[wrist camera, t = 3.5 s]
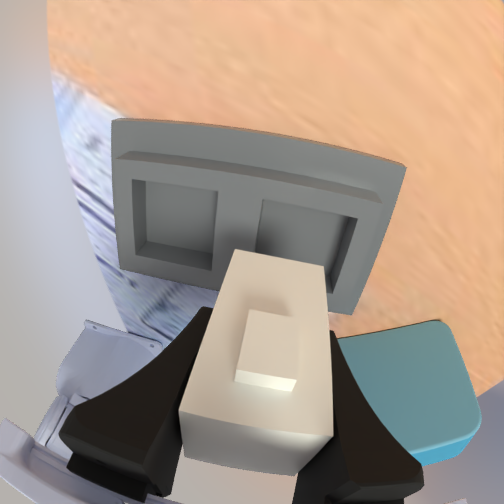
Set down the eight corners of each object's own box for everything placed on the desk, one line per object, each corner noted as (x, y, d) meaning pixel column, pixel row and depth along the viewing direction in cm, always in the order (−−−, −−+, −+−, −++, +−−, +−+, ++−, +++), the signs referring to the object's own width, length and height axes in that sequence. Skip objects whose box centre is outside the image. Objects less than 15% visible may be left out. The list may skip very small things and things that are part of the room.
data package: (325, 369, 28) (324, 482, 18) (319, 340, 26) (318, 466, 16) (439, 347, 25) (469, 452, 15) (445, 315, 23) (487, 430, 13)
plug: (221, 355, 18) (188, 478, 11) (236, 237, 13) (177, 399, 6) (287, 367, 17) (274, 493, 11) (327, 255, 13) (341, 426, 6)
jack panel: (125, 262, 24) (108, 283, 22) (119, 118, 18) (94, 125, 16) (350, 306, 24) (354, 333, 21) (401, 163, 17) (417, 177, 15)
